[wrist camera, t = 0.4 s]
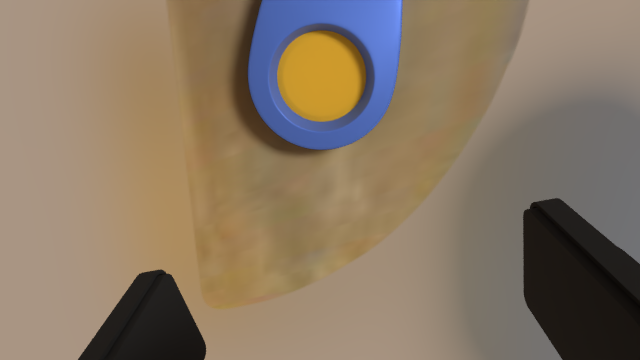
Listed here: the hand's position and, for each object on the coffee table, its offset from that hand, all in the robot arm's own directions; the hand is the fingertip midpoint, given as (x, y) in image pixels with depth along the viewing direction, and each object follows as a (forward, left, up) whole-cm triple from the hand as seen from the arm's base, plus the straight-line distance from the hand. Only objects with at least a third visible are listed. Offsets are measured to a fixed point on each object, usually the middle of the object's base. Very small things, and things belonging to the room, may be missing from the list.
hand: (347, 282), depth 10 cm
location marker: (-5, -4, -30) cm, 30 cm away
